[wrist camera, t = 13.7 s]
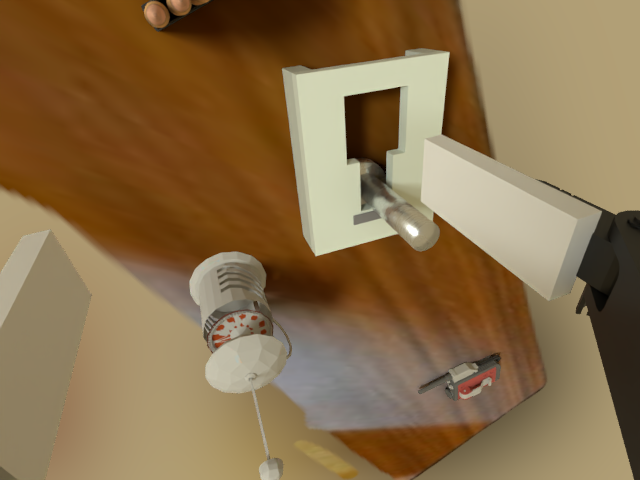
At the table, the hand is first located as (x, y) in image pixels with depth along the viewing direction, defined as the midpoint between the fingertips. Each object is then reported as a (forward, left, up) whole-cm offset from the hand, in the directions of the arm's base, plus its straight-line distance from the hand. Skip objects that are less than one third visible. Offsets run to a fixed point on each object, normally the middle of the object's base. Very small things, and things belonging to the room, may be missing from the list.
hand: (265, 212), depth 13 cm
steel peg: (+13, +16, -28) cm, 34 cm away
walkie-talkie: (+65, +38, -28) cm, 80 cm away
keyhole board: (+9, +16, -28) cm, 33 cm away
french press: (+24, -2, -28) cm, 37 cm away
